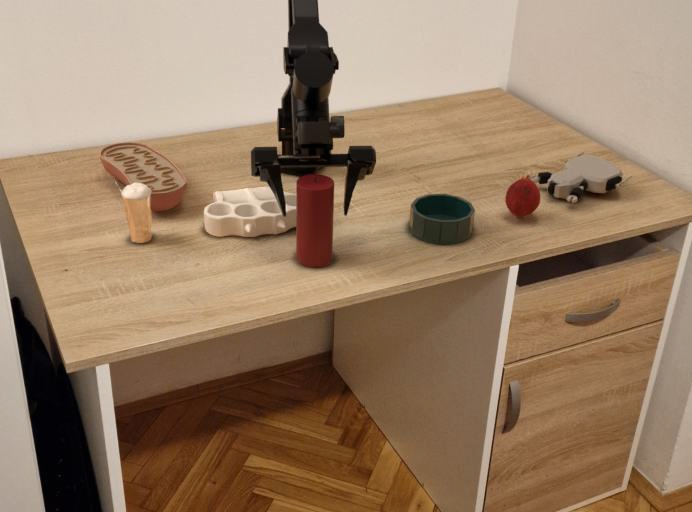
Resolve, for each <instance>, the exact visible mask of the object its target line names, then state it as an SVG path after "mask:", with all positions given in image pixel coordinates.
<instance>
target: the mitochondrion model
mask: <svg viewBox="0 0 692 512" xmlns="http://www.w3.org/2000/svg"><path fill="white" fill-rule="evenodd" d="M99 158H100V163H101V165H102V167H103V168H104V170H105V171H106V172H107V173H108V174H109V175H110V176H112V177H113V178H115V179H117V180H118V181H120V182H121V183H123V184H124V185H125V187H126V186H128V185H131V184H133V183H142V184H145V185H146V186H147V187H149V188H150V189H151V211H153V212H154V211H156V212H164V211H167V210H170V209H173V208H174V207H176V206H177V205H178V204H179V203H180V202H181V201H182V199H183V198H184V196H185V192H186V189H187V179H186V176H185V175H184V174H183V173H182V171H181V170H180V168H179V167H178V166H177V165H176V164H175V163H174V162H173V161H172V160H171V159H170V158H168V157H167V156H166V155H164V154H162V153H161V152H159V151H157V150H156V149H154V148H153V147H151V146H149V145H147V144H144V143H139V142H130V141H129V142H118V143H113V144H110V145H108V146H105V147H104V148H102V149H101V150H100V152H99Z"/></svg>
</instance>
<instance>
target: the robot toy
mask: <svg viewBox="0 0 692 512" xmlns="http://www.w3.org/2000/svg"><path fill="white" fill-rule="evenodd" d="M623 176H624V172H623V171H622V170H621V169H620V167H618V166H617V165H616V164H614V163H613V162H611V161H609V160H607V159H605V158H602V157H599V156H596V155H592V154H585V150H584V151H583V150H582V151H581V152H580V153H578V154H576V156H574V157H572V158H569V159H567V160H566V161H565V163H564V167H563V170H559V171H556V172H553V173H552V172H549V171H542V172H538V174H537V175H535V174H533V175H530V180H532V181H533V182H534V183H535V184H536V183H538V184H539V185H546V193H547V194H548V195H551V196H553V198H557V199H559V198H561V199H563V200H566V201H567V202H569V203H570V202H571V203H574V204H576V203H578V202H579V201H580V200H581V199H582V197H583V195H584V192H586V191H587V192H591V193H594V194H605V193H608V192H611V191H613V190H617V189H618V188H620V187H621V186H622V185H623V184H624V183H626V182H627V181H628V180H630V179H632V178H633V177H634V174H630V175H628V176H627V177H626V178H625V179H623Z"/></svg>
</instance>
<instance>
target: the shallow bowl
mask: <svg viewBox="0 0 692 512" xmlns="http://www.w3.org/2000/svg"><path fill="white" fill-rule="evenodd" d="M475 214H476V209H475V207H474V205H473V203H472V202H471V201H469V200H467V199H466V198H464V197H461V196H458V195H453V194H448V193H427V194H424V195H421V196H418V197H416V198H415V199H414V200H413V201H412V202H411V204H410V209H409V222H408V223H409V230H410V232H411V234H412V235H413V236H414V237H416V238H417V239H419V240H421V241H424V242H426V243H429V244H435V245H454V244H458V243H462V242H465V241H466V240H468V239H469V238H470V237H471V235H472V232H473V230H474V223H475Z"/></svg>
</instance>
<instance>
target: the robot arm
mask: <svg viewBox="0 0 692 512" xmlns="http://www.w3.org/2000/svg"><path fill="white" fill-rule="evenodd" d="M319 13H320V12H319V0H287V17H288V18H287V19H288V21H287V23H288V24H287V25H288V28H287V29H288V32H287V45H286V46H283V48H282V49H283V50H282V61H283V62H282V63H283V72H284V74H285V75H288V78H289V80H288V81H289V83H288V85H287V87H286V89H285V91H284V93H283V94H282V96H281V99H280V105H281V106H280V107H278V108H277V113H276V115H277V117H276V119H277V120H276V133H277V141H278V143H281V154H278V146H254V147H253V148H252V149H251V150H250V170H251V171H250V172H251V174H250V175H251V176H252V177H253V178H259V181H260V182H263V183H266V184H267V185H268V186H269V187H270V188H271V190H272V192H273V194H274V195H275V198H276V200H277V202H278V205H279V207H280V210H281V212H282V215H283V217H286V203H285V197H284V191H285V190H284V185H283V181H282V173H285V174H290V175H294V176H299V177H302V176H304V175H309V174H316V172H317V171H318V170H319V169H321V168H345V167H346V174H345V178H344V190H343V191H344V193H343V216H344V217H346V216H348V214H349V213H348V212H349V209H350V205H351V201H352V198H353V193H354V191H355V189H356V187H357V184H358V182H359V181H364V180H365V178H366V176H370V175H373V174H374V170H375V168H376V165H377V152H376V149H375V148H374V147H373V146H372V145H349V146H348V150H347V153H332V151H333V150H334V139H344V138H345V136H346V135H345V133H346V131H345V130H346V129H345V127H346V126H345V115H332V116H331V117H330V101H329V99H330V98H329V97H330V94H331V90H332V85H333V80H334V75H335V74H336V72H337V71H339V70H340V61H339V58H338V56H337V54H336V53H335V51H334V48H333V46H330V43H329V33H328V31H327V30H326V29H325V27H324V26H323V25H322V24H321V23H320V14H319ZM283 190H284V191H283Z"/></svg>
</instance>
